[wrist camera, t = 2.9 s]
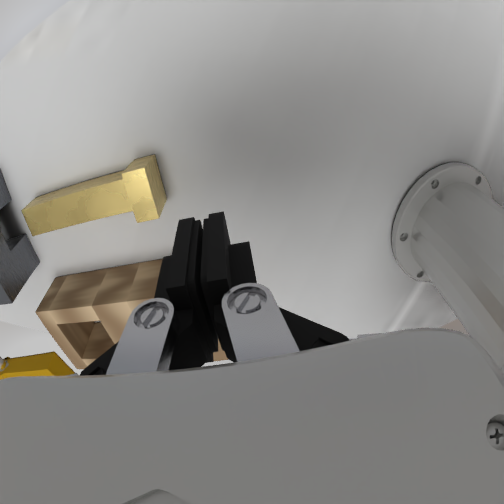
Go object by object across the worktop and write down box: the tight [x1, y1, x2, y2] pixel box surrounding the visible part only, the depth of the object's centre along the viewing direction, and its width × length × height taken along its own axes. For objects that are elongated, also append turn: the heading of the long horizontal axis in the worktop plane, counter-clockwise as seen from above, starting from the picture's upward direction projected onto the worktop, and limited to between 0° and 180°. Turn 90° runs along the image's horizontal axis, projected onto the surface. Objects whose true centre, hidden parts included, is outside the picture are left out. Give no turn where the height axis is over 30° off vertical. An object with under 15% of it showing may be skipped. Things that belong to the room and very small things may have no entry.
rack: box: [36, 259, 228, 369], centre depth 23 cm, size 16×8×12 cm, turn 98°
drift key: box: [21, 155, 167, 236], centre depth 20 cm, size 12×4×3 cm, turn 98°
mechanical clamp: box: [0, 351, 75, 380], centre depth 33 cm, size 18×6×30 cm
